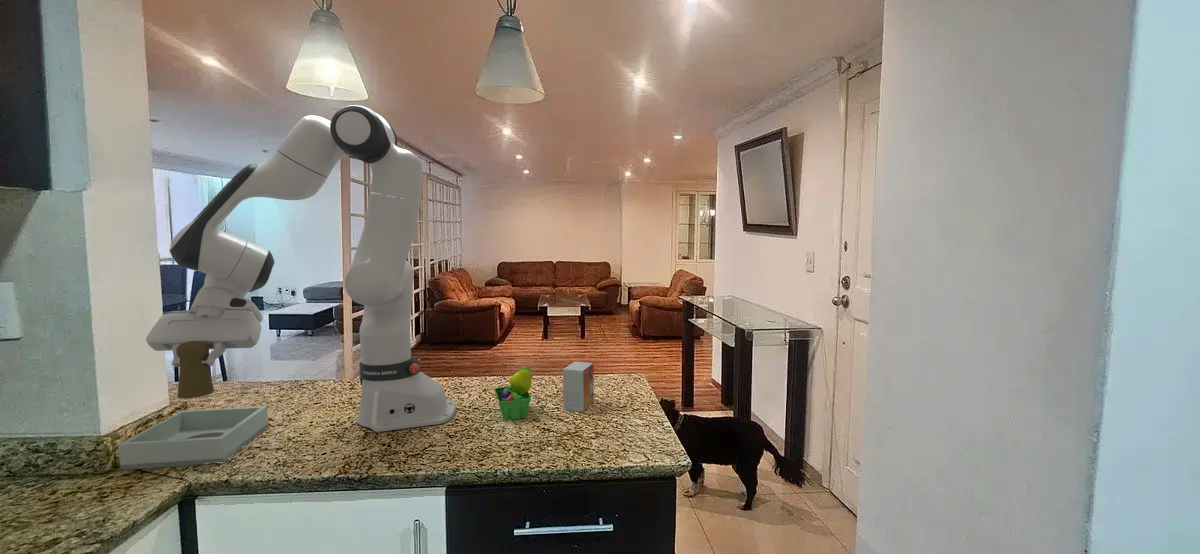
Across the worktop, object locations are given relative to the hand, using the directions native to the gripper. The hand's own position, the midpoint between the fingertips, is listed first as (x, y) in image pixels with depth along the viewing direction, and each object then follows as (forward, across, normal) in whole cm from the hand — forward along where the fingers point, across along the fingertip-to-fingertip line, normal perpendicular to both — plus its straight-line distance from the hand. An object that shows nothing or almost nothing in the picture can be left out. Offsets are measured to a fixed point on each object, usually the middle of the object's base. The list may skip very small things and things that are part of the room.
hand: (192, 365), depth 106 cm
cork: (+4, 0, +5) cm, 6 cm away
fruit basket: (+6, +65, +19) cm, 68 cm away
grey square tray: (+12, 0, +13) cm, 18 cm away
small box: (+4, +81, +20) cm, 84 cm away
